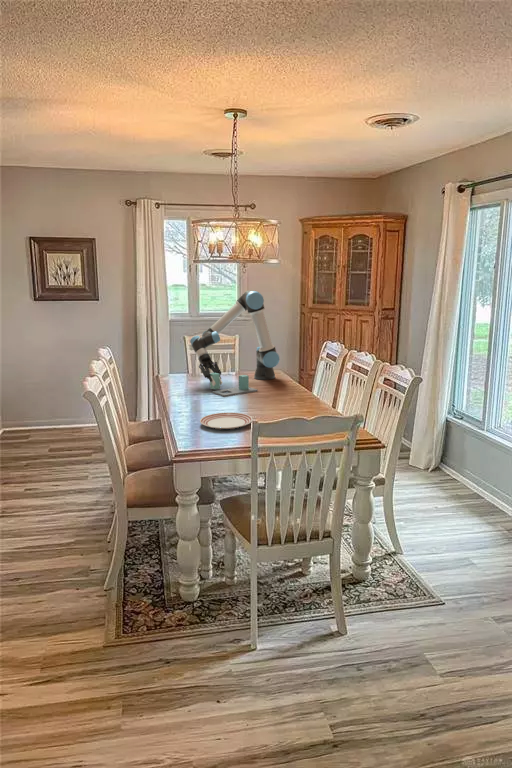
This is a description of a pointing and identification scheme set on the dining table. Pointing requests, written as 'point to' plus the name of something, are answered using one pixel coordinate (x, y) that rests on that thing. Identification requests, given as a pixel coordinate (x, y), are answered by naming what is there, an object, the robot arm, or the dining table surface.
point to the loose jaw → (217, 381)
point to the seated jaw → (243, 382)
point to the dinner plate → (226, 420)
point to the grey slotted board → (233, 391)
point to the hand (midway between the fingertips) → (218, 384)
